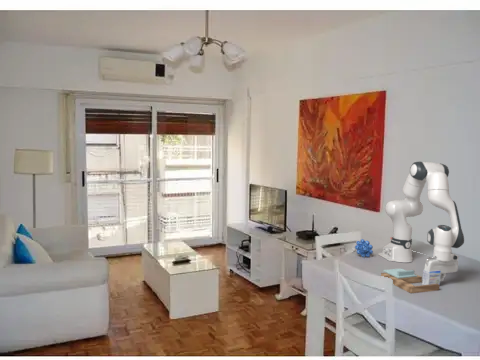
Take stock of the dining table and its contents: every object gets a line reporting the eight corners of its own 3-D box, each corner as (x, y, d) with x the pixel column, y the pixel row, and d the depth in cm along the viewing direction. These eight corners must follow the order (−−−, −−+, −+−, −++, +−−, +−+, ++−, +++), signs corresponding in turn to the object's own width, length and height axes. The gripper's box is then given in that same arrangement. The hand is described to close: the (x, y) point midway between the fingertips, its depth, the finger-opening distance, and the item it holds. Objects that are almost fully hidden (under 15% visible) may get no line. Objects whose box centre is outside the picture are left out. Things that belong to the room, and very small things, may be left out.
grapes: (355, 258, 283) (356, 240, 282) (353, 255, 290) (354, 237, 289) (373, 259, 283) (375, 241, 281) (371, 256, 289) (372, 238, 288)
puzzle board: (380, 278, 245) (381, 272, 245) (406, 275, 252) (407, 270, 251) (411, 293, 223) (411, 287, 223) (439, 290, 229) (439, 284, 229)
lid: (383, 271, 248) (383, 266, 247) (401, 269, 252) (401, 264, 252) (398, 278, 236) (398, 273, 236) (417, 276, 240) (417, 271, 240)
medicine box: (428, 287, 232) (429, 271, 231) (421, 285, 236) (423, 269, 235) (439, 286, 235) (441, 270, 234) (433, 283, 239) (434, 268, 238)
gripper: (431, 258, 230) (429, 284, 231) (461, 256, 237) (459, 281, 238) (422, 255, 236) (420, 280, 237) (451, 253, 243) (449, 277, 244)
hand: (440, 280), depth 238 cm, fingers closed
